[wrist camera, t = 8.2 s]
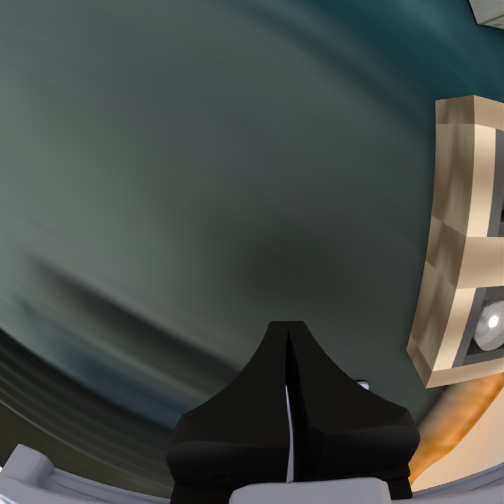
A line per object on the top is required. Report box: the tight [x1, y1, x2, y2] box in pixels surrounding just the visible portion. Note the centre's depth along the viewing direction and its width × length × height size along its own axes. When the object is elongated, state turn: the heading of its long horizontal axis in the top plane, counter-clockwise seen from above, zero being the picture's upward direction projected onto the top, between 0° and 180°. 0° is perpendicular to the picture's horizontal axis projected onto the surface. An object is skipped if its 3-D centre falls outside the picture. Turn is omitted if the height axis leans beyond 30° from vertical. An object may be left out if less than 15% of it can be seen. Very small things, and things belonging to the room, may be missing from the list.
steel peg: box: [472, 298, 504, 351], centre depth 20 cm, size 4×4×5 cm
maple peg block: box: [406, 95, 504, 388], centre depth 19 cm, size 20×10×5 cm, turn 1°
